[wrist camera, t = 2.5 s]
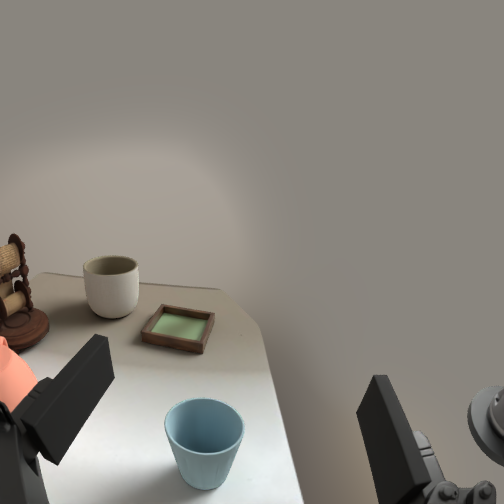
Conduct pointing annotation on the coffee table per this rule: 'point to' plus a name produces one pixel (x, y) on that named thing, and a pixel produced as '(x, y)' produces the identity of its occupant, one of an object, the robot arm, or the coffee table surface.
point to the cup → (204, 440)
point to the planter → (111, 285)
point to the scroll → (18, 300)
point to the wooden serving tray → (179, 328)
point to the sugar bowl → (14, 377)
